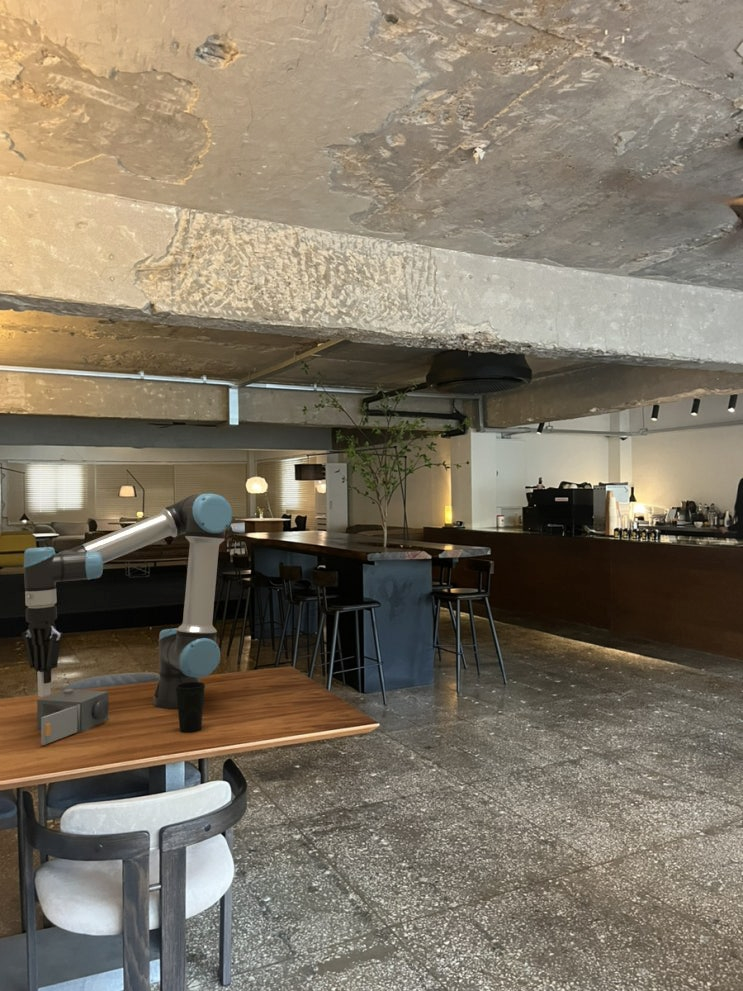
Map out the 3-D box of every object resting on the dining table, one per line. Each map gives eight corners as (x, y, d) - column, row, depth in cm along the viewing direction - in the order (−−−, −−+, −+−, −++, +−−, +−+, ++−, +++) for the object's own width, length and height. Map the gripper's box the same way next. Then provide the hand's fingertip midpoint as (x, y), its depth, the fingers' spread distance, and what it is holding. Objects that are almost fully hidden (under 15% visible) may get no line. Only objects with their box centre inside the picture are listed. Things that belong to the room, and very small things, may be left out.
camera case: (113, 720, 205) (113, 689, 205) (84, 733, 192) (84, 700, 192) (66, 717, 209) (65, 686, 209) (34, 730, 196) (34, 697, 196)
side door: (74, 731, 193) (74, 706, 193) (78, 732, 192) (78, 706, 192) (41, 744, 182) (41, 717, 182) (45, 745, 181) (45, 717, 182)
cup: (178, 735, 190) (177, 689, 190) (173, 727, 197) (173, 683, 197) (207, 731, 193) (207, 686, 193) (202, 724, 200) (202, 680, 200)
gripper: (11, 607, 190) (15, 696, 190) (46, 608, 184) (50, 700, 184) (36, 603, 197) (39, 689, 196) (70, 604, 191) (73, 693, 191)
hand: (44, 695), depth 190 cm, fingers closed
